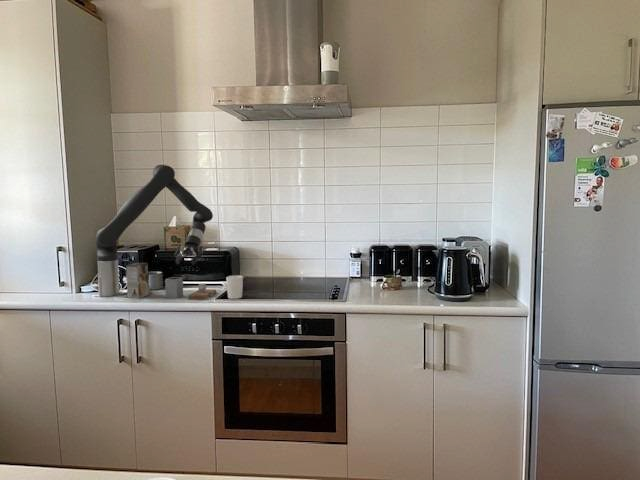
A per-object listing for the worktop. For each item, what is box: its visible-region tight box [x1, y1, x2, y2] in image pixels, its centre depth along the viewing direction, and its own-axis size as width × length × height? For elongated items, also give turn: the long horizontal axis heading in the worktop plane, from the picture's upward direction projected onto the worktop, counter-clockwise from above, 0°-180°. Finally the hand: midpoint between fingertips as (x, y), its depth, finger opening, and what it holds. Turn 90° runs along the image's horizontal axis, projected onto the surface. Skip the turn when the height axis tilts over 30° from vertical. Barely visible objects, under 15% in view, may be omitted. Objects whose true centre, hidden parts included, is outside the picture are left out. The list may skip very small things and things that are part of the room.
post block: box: [187, 283, 217, 301], centre depth 219 cm, size 14×8×6 cm, turn 170°
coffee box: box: [125, 262, 150, 300], centre depth 219 cm, size 9×6×16 cm
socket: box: [164, 276, 184, 299], centre depth 218 cm, size 6×6×9 cm
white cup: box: [225, 275, 244, 300], centre depth 217 cm, size 8×8×10 cm
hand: (184, 263), depth 229 cm, fingers open, 8 cm apart
